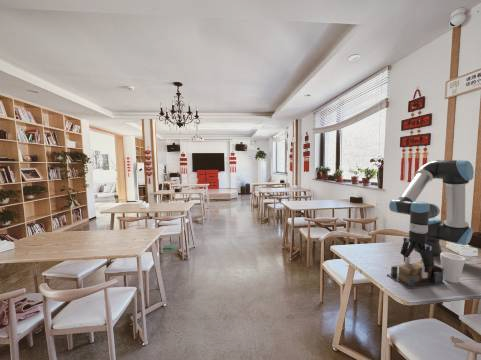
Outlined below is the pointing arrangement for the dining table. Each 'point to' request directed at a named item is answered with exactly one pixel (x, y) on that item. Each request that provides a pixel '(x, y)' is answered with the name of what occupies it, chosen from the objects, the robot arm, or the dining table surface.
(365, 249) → the dining table surface
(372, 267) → the dining table surface
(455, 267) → the foam cup
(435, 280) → the bracket board
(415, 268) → the brown wooden block
